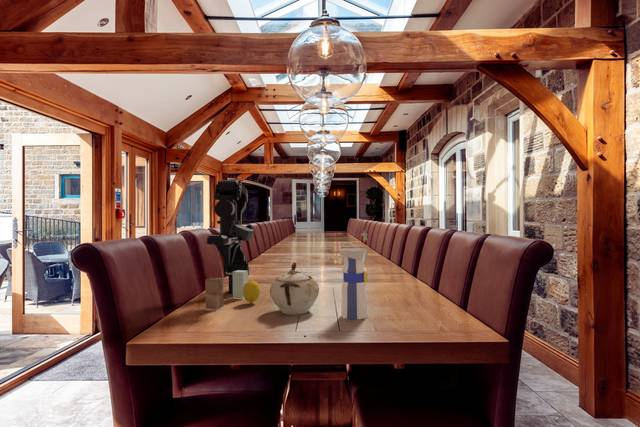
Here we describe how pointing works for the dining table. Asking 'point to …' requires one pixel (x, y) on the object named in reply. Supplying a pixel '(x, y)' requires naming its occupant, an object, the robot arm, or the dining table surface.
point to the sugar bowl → (294, 292)
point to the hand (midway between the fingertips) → (229, 264)
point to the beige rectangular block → (214, 293)
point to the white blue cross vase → (354, 283)
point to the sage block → (239, 283)
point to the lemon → (251, 291)
